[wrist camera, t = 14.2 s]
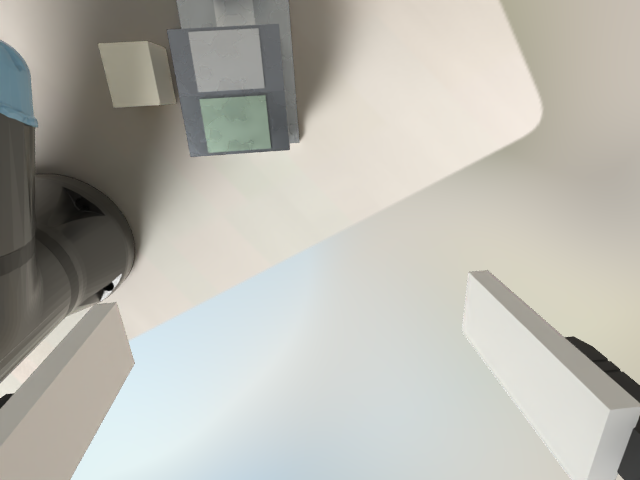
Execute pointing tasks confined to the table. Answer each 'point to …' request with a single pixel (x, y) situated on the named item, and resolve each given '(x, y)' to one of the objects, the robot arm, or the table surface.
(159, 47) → the beige small block
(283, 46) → the grey l-shaped block
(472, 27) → the table surface
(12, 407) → the robot arm
